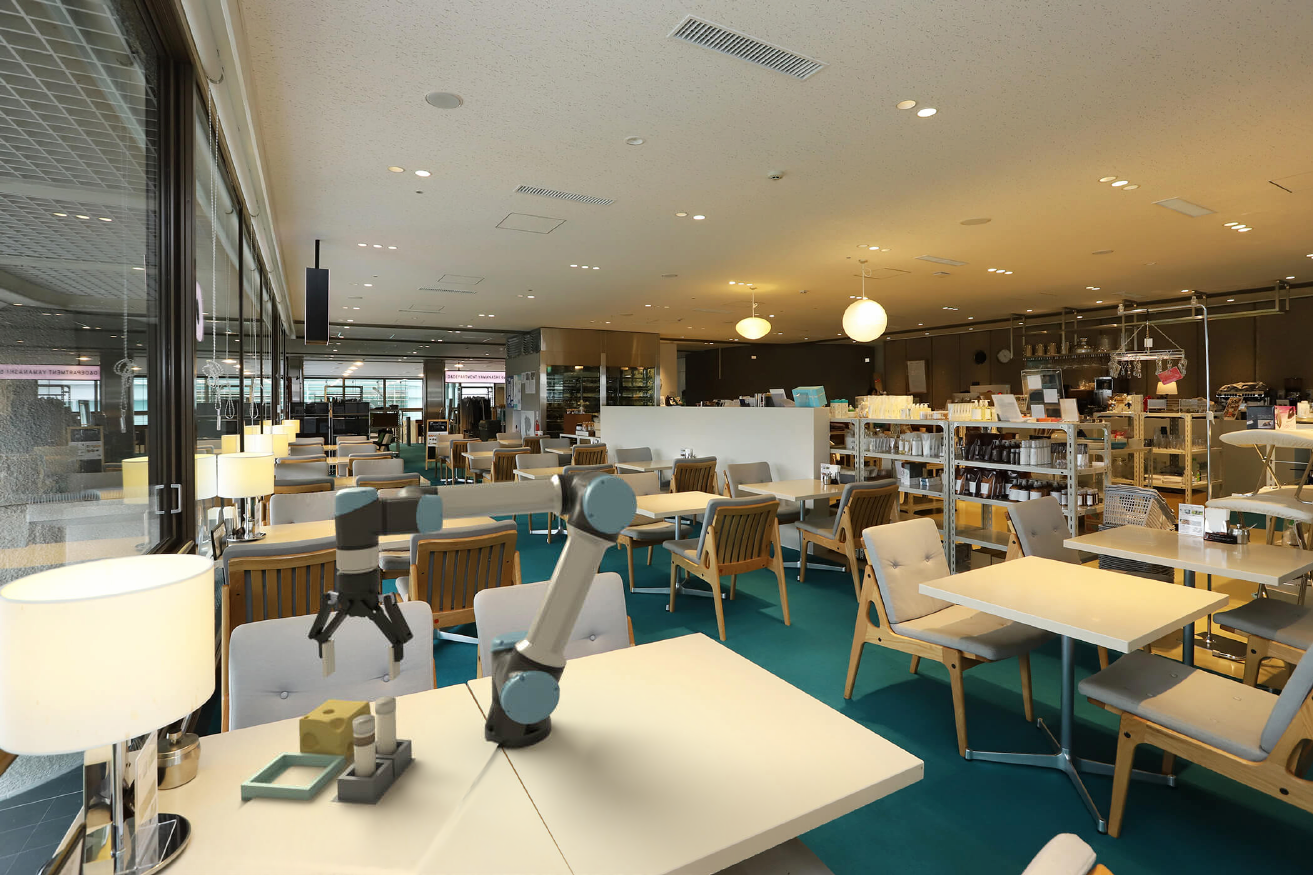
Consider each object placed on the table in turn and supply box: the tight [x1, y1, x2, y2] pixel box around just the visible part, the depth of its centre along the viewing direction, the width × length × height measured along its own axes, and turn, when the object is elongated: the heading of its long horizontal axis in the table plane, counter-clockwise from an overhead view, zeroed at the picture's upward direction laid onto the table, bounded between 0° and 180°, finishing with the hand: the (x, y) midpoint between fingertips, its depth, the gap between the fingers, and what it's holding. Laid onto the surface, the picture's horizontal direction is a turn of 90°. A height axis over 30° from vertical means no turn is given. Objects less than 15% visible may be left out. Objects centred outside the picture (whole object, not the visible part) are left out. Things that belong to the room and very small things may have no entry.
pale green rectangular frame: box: [240, 751, 346, 801], centre depth 132 cm, size 14×12×3 cm
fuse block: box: [330, 696, 416, 806], centre depth 132 cm, size 9×16×15 cm, turn 173°
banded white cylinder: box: [353, 714, 376, 778], centre depth 128 cm, size 4×4×14 cm
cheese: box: [298, 698, 372, 762], centre depth 143 cm, size 10×11×10 cm
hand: (361, 675), depth 127 cm, fingers open, 13 cm apart
